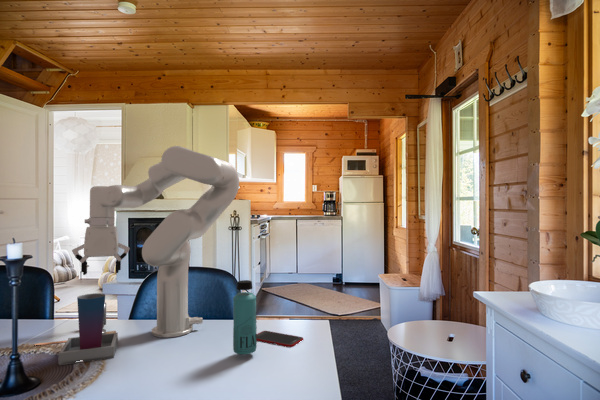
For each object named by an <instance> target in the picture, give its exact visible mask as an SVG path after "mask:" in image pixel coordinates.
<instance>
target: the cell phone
mask: <svg viewBox="0 0 600 400" xmlns="http://www.w3.org/2000/svg"><path fill="white" fill-rule="evenodd" d="M256 337H257V342H260V341H262V342H261V343H265V342H267V343H266V344H270V343H272V344H271V345H276V344H277V346H280V345H282V346H281V347H285V346H286V348H293V347H295V346H296V344H297V345H298V344H300V343H301V342H300V341H302V340H303V341H304V337H302V336H297V335H292V334H288V333H281V332H276V331H275V332H274V331H270V330H263V331H260V332H258V333H256ZM303 341H302V342H303ZM299 342H300V343H299Z"/></svg>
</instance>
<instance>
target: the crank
mask: <svg viewBox="0 0 600 400" xmlns="http://www.w3.org/2000/svg"><path fill="white" fill-rule="evenodd" d="M105 325H107V302H105V306H104V318H103V331H102V334H106V332H107V330H106V329H104V327H105Z"/></svg>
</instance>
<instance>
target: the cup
mask: <svg viewBox="0 0 600 400" xmlns="http://www.w3.org/2000/svg"><path fill="white" fill-rule="evenodd" d="M76 300H77V318H78V332H79V333H78V334H79V336H78V337H79V338H80V350H82V349H90V348H98V347H101V343H102V331H103V329H104V327H103V318H104V306H105V303H106V294H105V293H100V292H98V293H97V292H96V293H86V294H82V295H79V296H77V299H76Z"/></svg>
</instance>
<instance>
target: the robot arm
mask: <svg viewBox="0 0 600 400" xmlns="http://www.w3.org/2000/svg"><path fill="white" fill-rule="evenodd" d="M147 174H148V179H145V180H144V181H143V182H141V183H139V184H136V185H134V186H133V185H125V184H124V185H121V184H114V185H108V186H107V185H106V186H105V185H96V186H95V185H94V186H92V187H91V188H90V190H89V218H86V219H84V224H88V225H89V226H87V227H86V228H85V233H84V234H85V235H84V244H81V245H78V246H77V247H75V248H73V249H71V252H72V254H73V255H74V258H75V259H76V260H78V261H79V262H80V264H81V265H80V267H81V268H80V269H81V271H80V272H81V273H82V275H83V276H85V275H87V274H88V262H87V260H88V258H99V257H102V258H103V257H114V259H116V261H115V273H116V274H118V273H119V272H120V271H121V269H122V266H121V264H122V260H123V259H124V258H125V257H126V256H127V255H128V253H129V251H130V249H131V248H130V247H129V246H127V245H125V244H122V243H120V242H119V233H118V227H117V226H116V225H115V220H116V219H115V212H116V211H115V210H116V209H117V208H118V209H124V208H125V209H126V208H127V209H129V208H130V209H135V208H140V207H142V206H144V205H146V204H149V202H152V201H153V200H155V199H157V198H158V197H160V195H161V194H162V193H164V191H165V190H167V189H168V188H170V187H172V186H173V185H174V186H175V185H176V184H177V183H179V182H183V180H186V179H188V180H191V181H194V182H197V183H201V184H202V185H207V186H208V185H209V186H211V187H210V188H209V189H208V190H207V191H206V192H204V193H203V194H202V195H200V197H199V198H198V199H197V200H196V202H194V204H193V205H192V206H191V207H189V208H187V209H186V208H185V209H183V208H182V209H178V210H174V211H173V212H171V213H170V214H168V215H167V216H166V217H165V218H164V219H163V220H162V221H161V223H159V225H158V226H157V227H156V228H155V229H154V230H153V231H152V232H151V233H150V235H149V236H148V237H147V238H146V239H145V241H144V243H143V244H142V248H141V257H142V259H143V261H144V262H145V263H146V264H147V265H149V266H151V267H156V268H157V267H158V270H157V276H156V280H157V281H156V325H155V326H154V327H152V329H151V335H152V336H154V337H156V338H176V337H181V336H184V335H188V334H190V333H191V332H193V330H194V329H193V328H194V327H193V325H196V324H197V325H199V324H200V325H201V324H203V323H204V322H203V321H204V320H203V317H199V316H194V317H191V316H190V314H189V312H188V311H189V306H188V305H189V303H188V302H189V296H188V295H189V265H190V258H191V254H192V253H191V252H192V251H191V249H192V248H191V243H190V240H196V239H200V238H201V237H203V235H204V234H206V232H207V231H208V230H209V229H210V228H211V226H212V225H214V223H215V222H216V221H217V220H218V219H219V218H220V216H221V215H222V214H223V213H224V211H225V210H227V208H228V207H229V206H230V205H231V204H232V203H233V201H234V200H235V198H236V196H237V194H238V192H239V188H240V177H239V174H238V172H237V169H236V168H235V167H234V166H233V165H232V164H231V163H230V162H228V161H226V160H223V159H220V158H217V157H214V156H211V155H207V154H204V153H201V152H197V151H194V150H191V149H189V148H187V147H183V146H181V145H180V146H179V145H174V146H170V147H168V148H166V150H164V151H163V153H162V155H161V160H160V161H159V162H158V163H156V164H153V165H152V166H150V167H149V168H148V172H147ZM115 208H116V209H115ZM119 248H120V249H122V250H124V251H123V253H122V254H121V255H120V254H119ZM81 250H83V255H84V256H82V255H81V254H80V251H81Z"/></svg>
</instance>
